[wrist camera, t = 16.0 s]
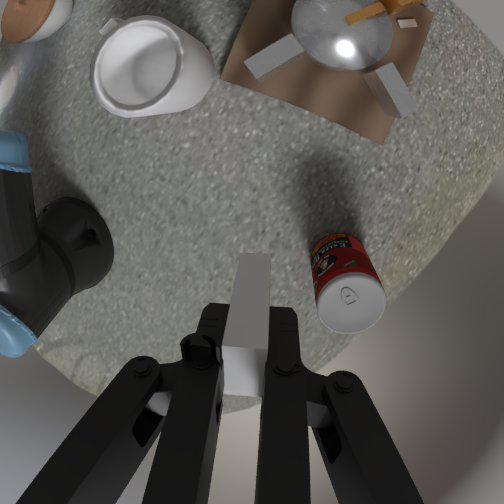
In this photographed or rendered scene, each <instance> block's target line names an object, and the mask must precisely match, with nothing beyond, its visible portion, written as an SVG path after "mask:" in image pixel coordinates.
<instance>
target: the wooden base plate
mask: <svg viewBox="0 0 504 504" xmlns="http://www.w3.org/2000/svg"><path fill="white" fill-rule="evenodd" d="M295 2H296V0H253V1H252V3H251V5H250V7H249V9H248V12H247V14H246V16H245V18H244V21H243V23H242V25H241V28H240V30H239V32H238V35H237V37H236V39H235V42H234V44H233V47H232V49H231V52H230V54H229V57H228V59H227V62H226V64H225V67H224V69H223V72H222V75H221V77H220V79H221V80H223V81H227V82H230V83H233V84H236V85H240V86H243V87H246V88H249V89H252V90H255V91H258V92H261V93H263V94H266V95H269V96H272V97H274V98H277V99H280V100H282V101H285V102H288V103H290V104H293V105H295V106H298V107H300V108H303V109H305V110H308V111H310V112H312V113H315V114H317V115H319V116H322V117H324V118H326V119H329V120H331V121H333V122H335V123H337V124H340V125H342V126H344V127H346V128H348V129H350V130H352V131H354V132H356V133H358V134H360V135H362V136H364V137H366V138H368V139H370V140H372V141H374V142H376V143H378V144H380V145H382V146H383V143H384V141H385V139H386V137H387V134H388V132H389V130H390V128H391V125H392V123H393V121H394V118H395V117H391V116H386V115H385V114H384V112H383V110H382V108H381V107H380V105H379V103H378V101H377V100H376V98H375V96H374V95H373V93H372V91H371V90H370V88H369V86H368V85H367V83H366V81H365V80H364V78H363V77H362V75H363V74H365V73H367V72H369V71H371V70H373V69H375V68H377V67H379V66H382V65H385V64H388V63H391V62H393V64H394V66H395V67H396V69H397V71H398V72H399V74H400V76H401V78H402V79H403V81H404V83H405V85H406V86H407V87H408V85H409V82H410V80H411V77H412V74H413V72H414V69H415V67H416V64H417V61H418V59H419V56H420V53H421V51H422V48H423V45H424V42H425V40H426V37H427V34H428V31H429V28H430V25H431V22H432V19H433V16H434V13H433V12H432V11H430V10H429V9H427V8H425V7H424V6H422V5H421V4H419V5H418V6H415V7H412V8H409V9H407V10H404V11H402V12H399V13H396V14H394V15H391V16H389V17H390V20H391V24H392V30H393V36H392V42H391V45H390V48H389V50H388V51H387V53H386V54H385V56H384V57H383V58H382V59H381V60H379V61H378V62H376V63H375V64H373V65H371V66H368V67H366V68H364V69H361V70H357V71H352V72H340V71H334V70H330V69H327V68H324V67H322V66H320V65H318V64H316V63H315V62H313V61H312V60H310V59H309V58H308V57H307V56H306V55H305V54H303V56H302V59H300V60H299V61H297V62H295V63H293V64H292V65H290V66H288V67H287V68H285V69H283V70H282V71H280V72H278V73H277V74H275V75H273V76H272V77H270V78H268V79H267V80H265V81H264V82H262V83H260V82H259V81H258V80H257V79H256V78H255V76H254V75H253V74H252V72H251V71H250V70H249V69H248V67H247V66H246V65H245V63H244V61H245V60H247V59H249V58H250V57H252V56H253V55H255V54H257V53H258V52H260V51H261V50H263V49H265V48H266V47H268V46H270V45H271V44H273V43H275V42H277V41H278V40H280V39H282V38H284V37H285V36H287V35H289V34H291V33H292V30H291V18H292V10H293V7H294V4H295Z"/></svg>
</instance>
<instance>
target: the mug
mask: <svg viewBox="0 0 504 504" xmlns="http://www.w3.org/2000/svg"><path fill="white" fill-rule="evenodd" d="M99 32H100V33H101V34H102V35H103V36H104V37H103V39H102V40H101V42H100V43H99V45H98V46H97V48H96V49H95V52H94V55H93V58H92V61H91V64H90V83H91V87H92V91H93V94H94V96H95V97H96V99H97V100H98V102H99V103H100V105H101V106H102V107H104V108H105V109H106V110H108V111H109V112H110V113H112V114H115V115H118V116H122V117H125V118H128V117H142V116H149V115H157V114H165V113H173V112H180V111H183V110H186V109H189V108H191V107H192V106H194V105H195V104H197V103H198V102H199V101H201V100H202V98H203V97H204V96H205V95H206V93H207V92H208V91H209V89H210V87H211V84H212V82H213V79H214V68H215V65H214V62H213V58H212V55H211V53H210V52H209V50H208V49H207V48H206V46H205V45H204V44H203V43H201V42H200V41H198V40H197V39H196V38H194V37H193V36H191V35H190V34H188V33H187V32H185V31H184V30H182V29H181V28H179V27H178V26H176V25H175V24H173V23H171V22H170V21H168V20H166V19H164V18H163V17H159V16H152V15H142V16H136V17H131V18H129V19H127V20H122V19H119V18H117V17H114V18H111V19H110V20H109V21H108V22H107V23H106V24H105V25H104V26H103V28H102V29H101V30H100V31H99Z"/></svg>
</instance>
